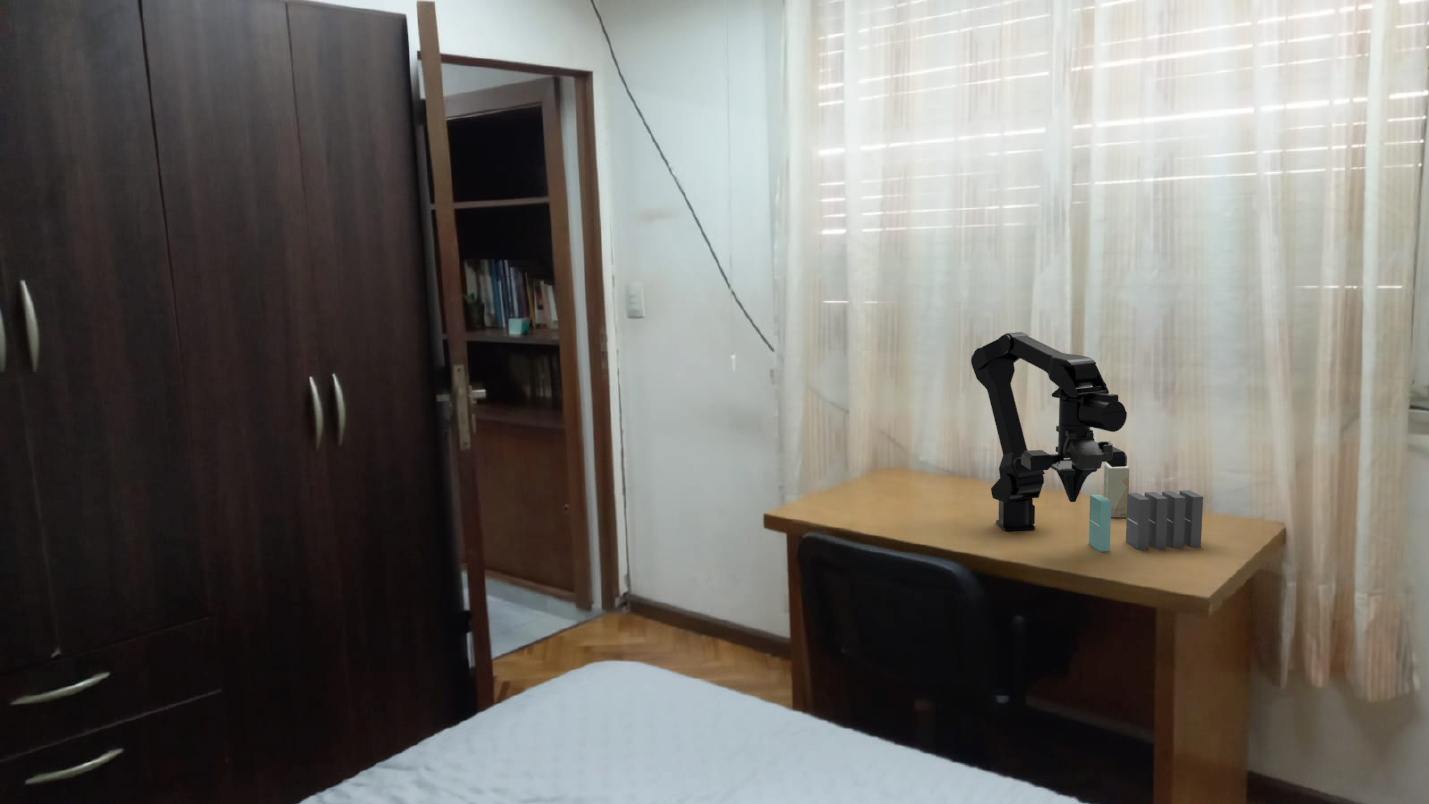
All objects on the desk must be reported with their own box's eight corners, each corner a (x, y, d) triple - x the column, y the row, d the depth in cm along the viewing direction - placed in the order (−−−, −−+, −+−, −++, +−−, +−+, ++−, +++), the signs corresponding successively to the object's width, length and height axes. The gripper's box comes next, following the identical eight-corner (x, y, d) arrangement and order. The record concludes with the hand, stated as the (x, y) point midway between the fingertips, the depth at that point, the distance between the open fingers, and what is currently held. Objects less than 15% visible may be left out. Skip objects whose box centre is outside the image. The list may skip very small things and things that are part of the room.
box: (1128, 518, 206) (1130, 468, 204) (1107, 517, 207) (1108, 468, 205) (1123, 511, 211) (1124, 462, 209) (1102, 511, 212) (1104, 462, 210)
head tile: (1099, 551, 185) (1100, 501, 183) (1088, 543, 190) (1089, 495, 188) (1110, 551, 185) (1111, 501, 184) (1098, 543, 190) (1100, 494, 188)
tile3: (1155, 548, 185) (1157, 498, 184) (1142, 541, 190) (1144, 492, 189) (1165, 548, 186) (1167, 498, 184) (1153, 540, 190) (1154, 491, 189)
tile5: (1190, 547, 186) (1192, 497, 184) (1177, 539, 191) (1179, 490, 189) (1201, 546, 186) (1203, 496, 184) (1187, 538, 191) (1189, 490, 189)
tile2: (1137, 549, 185) (1139, 499, 184) (1125, 541, 190) (1127, 493, 189) (1148, 549, 185) (1149, 499, 184) (1135, 541, 190) (1137, 492, 189)
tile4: (1173, 547, 186) (1175, 498, 184) (1160, 540, 191) (1162, 491, 189) (1183, 547, 186) (1185, 497, 184) (1170, 539, 191) (1172, 491, 189)
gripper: (1042, 433, 175) (1040, 515, 178) (1142, 429, 176) (1139, 510, 178) (1020, 422, 186) (1019, 499, 189) (1114, 418, 187) (1112, 495, 189)
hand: (1072, 501), depth 186 cm, fingers closed
